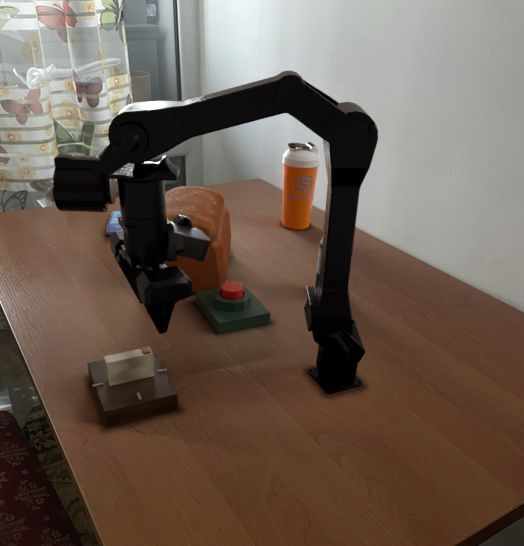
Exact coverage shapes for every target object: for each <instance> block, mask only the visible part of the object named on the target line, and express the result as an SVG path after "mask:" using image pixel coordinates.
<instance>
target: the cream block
mask: <svg viewBox="0 0 524 546" xmlns="http://www.w3.org/2000/svg"><path fill="white" fill-rule="evenodd" d="M151 350H152V349H151V347H150V346H148V345H147V346H142V347H141V348H137V349H132V350H128V351H123V352H119V353H114V354H109V355H103V360H104V364H105V371H106V378H107V381H108V384H109V386H112V385H117V384H121V383H126V382H130V381H135V380H139V379H143V378H148V377H152V376H154V364H153V353H152V351H151Z"/></svg>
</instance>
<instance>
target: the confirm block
mask: <svg viewBox="0 0 524 546" xmlns="http://www.w3.org/2000/svg"><path fill="white" fill-rule="evenodd" d="M241 284H242V283H241ZM242 285H243V297H242V298H240V299H236V300H230V299H225V298H223V297H222V296H221V286H220V287H218V288H217V289H212V290H206V291H200V292H195V293H194V296H195V304H196V305H197V307H198V308H199V309H200V311H201V312H202V313H203V315H204V316H205V317H206V319H207V320H208V321H209V323H210V324H211V325H212V327H213V328H214V330H215V331H216V332H217V333H218V334H223V333H228V332H234V331H238V330H243V329H247V328H252V327H257V326H262V325H267V324H270V323H271V312H270V311H269V309H268V308H266V305H264V304H263V303H262V302H261V301H260V300H259V299H258V298H257V297H256V296H255V294H253V293H252V291H251V290H250V289H249V288H248V287H247V286H246V285H245V284H244V283H243V284H242Z"/></svg>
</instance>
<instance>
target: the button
mask: <svg viewBox="0 0 524 546" xmlns="http://www.w3.org/2000/svg"><path fill="white" fill-rule="evenodd" d="M221 296H222V297H223V298H225V299H230V300H236V299H240V298H242V297H243V285H242V283H240V282H237V281H226V283H224V284H222V286H221Z"/></svg>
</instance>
